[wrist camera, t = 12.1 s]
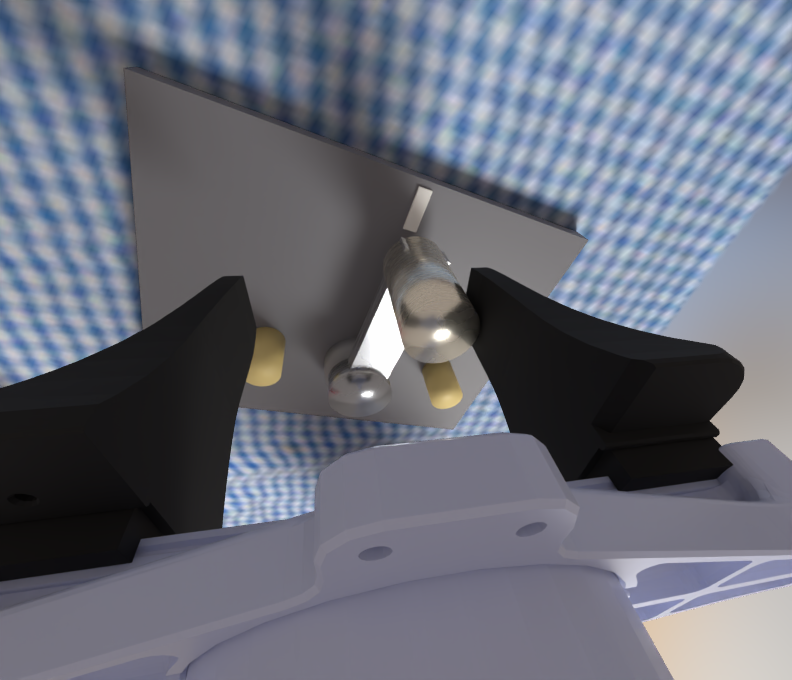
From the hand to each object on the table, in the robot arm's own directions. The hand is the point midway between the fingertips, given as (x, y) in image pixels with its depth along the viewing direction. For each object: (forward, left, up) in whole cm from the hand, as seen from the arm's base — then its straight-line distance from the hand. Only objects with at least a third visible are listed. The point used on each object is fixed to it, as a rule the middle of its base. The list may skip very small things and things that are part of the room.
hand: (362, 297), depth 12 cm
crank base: (-4, -1, -5) cm, 7 cm away
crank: (-3, -2, -3) cm, 5 cm away
